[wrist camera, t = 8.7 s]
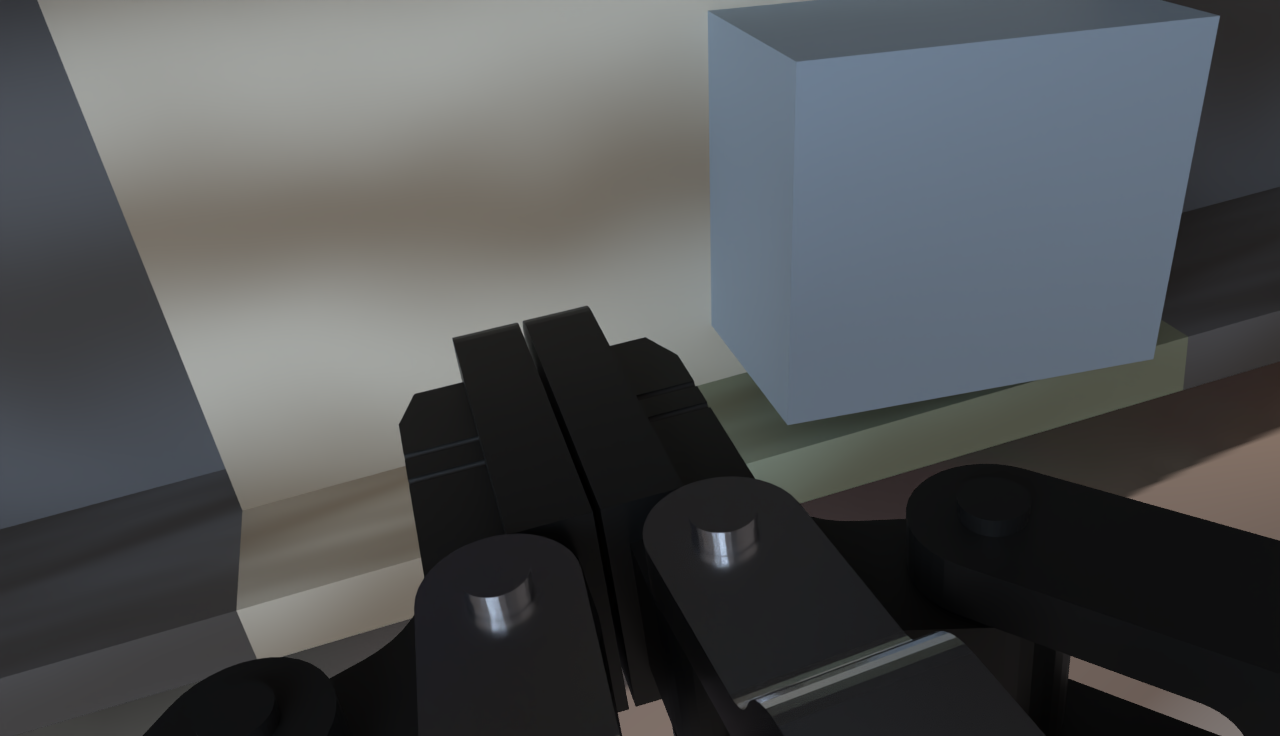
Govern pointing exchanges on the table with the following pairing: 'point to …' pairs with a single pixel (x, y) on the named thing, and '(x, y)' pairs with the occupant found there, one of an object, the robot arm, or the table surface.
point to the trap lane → (411, 296)
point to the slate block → (945, 190)
